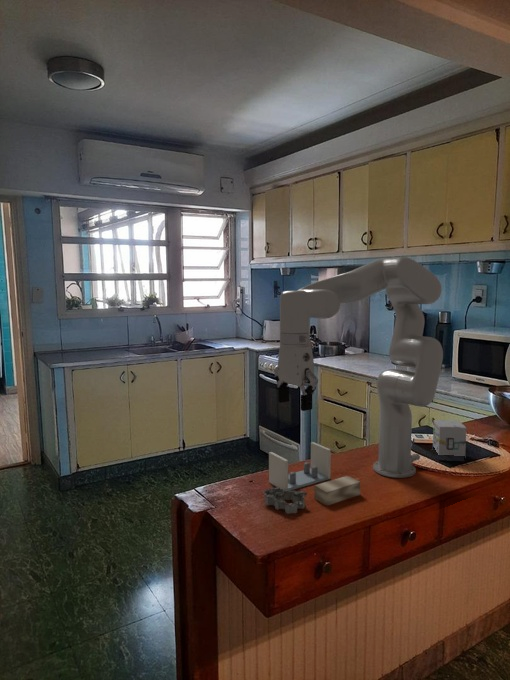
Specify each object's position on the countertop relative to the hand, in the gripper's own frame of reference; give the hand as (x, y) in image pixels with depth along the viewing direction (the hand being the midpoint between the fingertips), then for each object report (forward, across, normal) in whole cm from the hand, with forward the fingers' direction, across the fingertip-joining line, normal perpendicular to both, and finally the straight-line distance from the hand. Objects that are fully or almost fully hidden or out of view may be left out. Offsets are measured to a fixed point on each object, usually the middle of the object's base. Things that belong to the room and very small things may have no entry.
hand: (294, 405), depth 121 cm
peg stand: (+26, +11, -10) cm, 31 cm away
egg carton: (+27, +1, +2) cm, 27 cm away
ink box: (+27, 0, -64) cm, 69 cm away
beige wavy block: (+27, -3, -12) cm, 30 cm away
